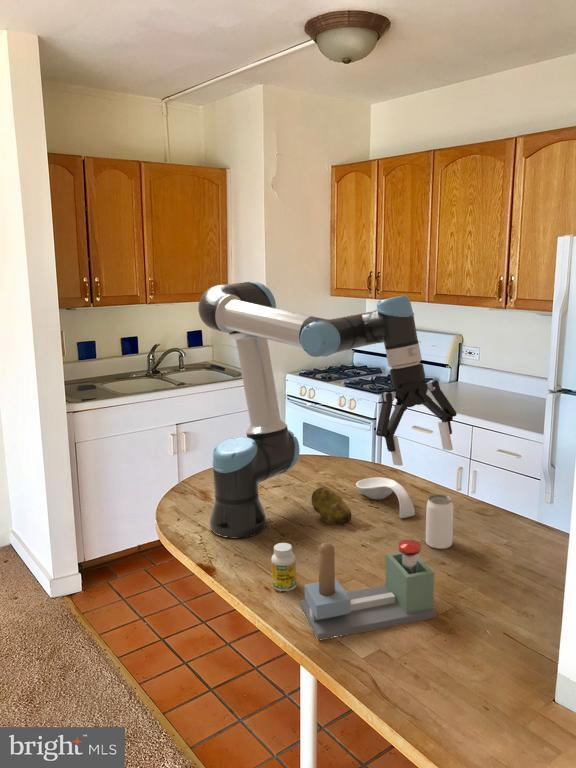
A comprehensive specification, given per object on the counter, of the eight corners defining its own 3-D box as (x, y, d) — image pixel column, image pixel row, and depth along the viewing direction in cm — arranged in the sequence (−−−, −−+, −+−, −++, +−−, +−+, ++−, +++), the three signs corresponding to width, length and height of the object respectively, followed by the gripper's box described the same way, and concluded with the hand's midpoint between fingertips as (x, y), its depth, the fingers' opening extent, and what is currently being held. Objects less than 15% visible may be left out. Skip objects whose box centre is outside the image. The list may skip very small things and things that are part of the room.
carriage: (304, 604, 131) (303, 537, 127) (336, 598, 133) (336, 532, 129) (316, 626, 123) (315, 555, 120) (350, 620, 125) (350, 550, 122)
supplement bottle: (293, 578, 144) (292, 539, 142) (298, 590, 139) (297, 550, 137) (270, 581, 143) (268, 542, 141) (275, 594, 138) (273, 554, 136)
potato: (325, 531, 167) (325, 503, 165) (307, 512, 178) (307, 486, 177) (354, 526, 169) (354, 498, 167) (335, 507, 181) (334, 481, 179)
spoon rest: (349, 491, 193) (349, 469, 191) (382, 485, 197) (382, 463, 195) (390, 522, 171) (390, 497, 170) (427, 514, 176) (427, 490, 174)
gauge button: (394, 581, 133) (395, 541, 131) (413, 577, 135) (414, 538, 132) (403, 592, 129) (404, 551, 127) (423, 588, 130) (424, 547, 128)
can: (452, 550, 155) (454, 505, 152) (425, 548, 156) (426, 503, 153) (451, 538, 161) (453, 494, 158) (425, 536, 162) (426, 493, 159)
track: (300, 607, 133) (299, 566, 131) (408, 587, 139) (409, 547, 137) (317, 640, 122) (316, 596, 120) (435, 617, 128) (436, 575, 126)
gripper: (365, 376, 134) (385, 473, 135) (461, 353, 143) (478, 444, 144) (349, 377, 141) (368, 469, 142) (441, 355, 150) (457, 442, 151)
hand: (423, 457), depth 143 cm, fingers open, 13 cm apart
